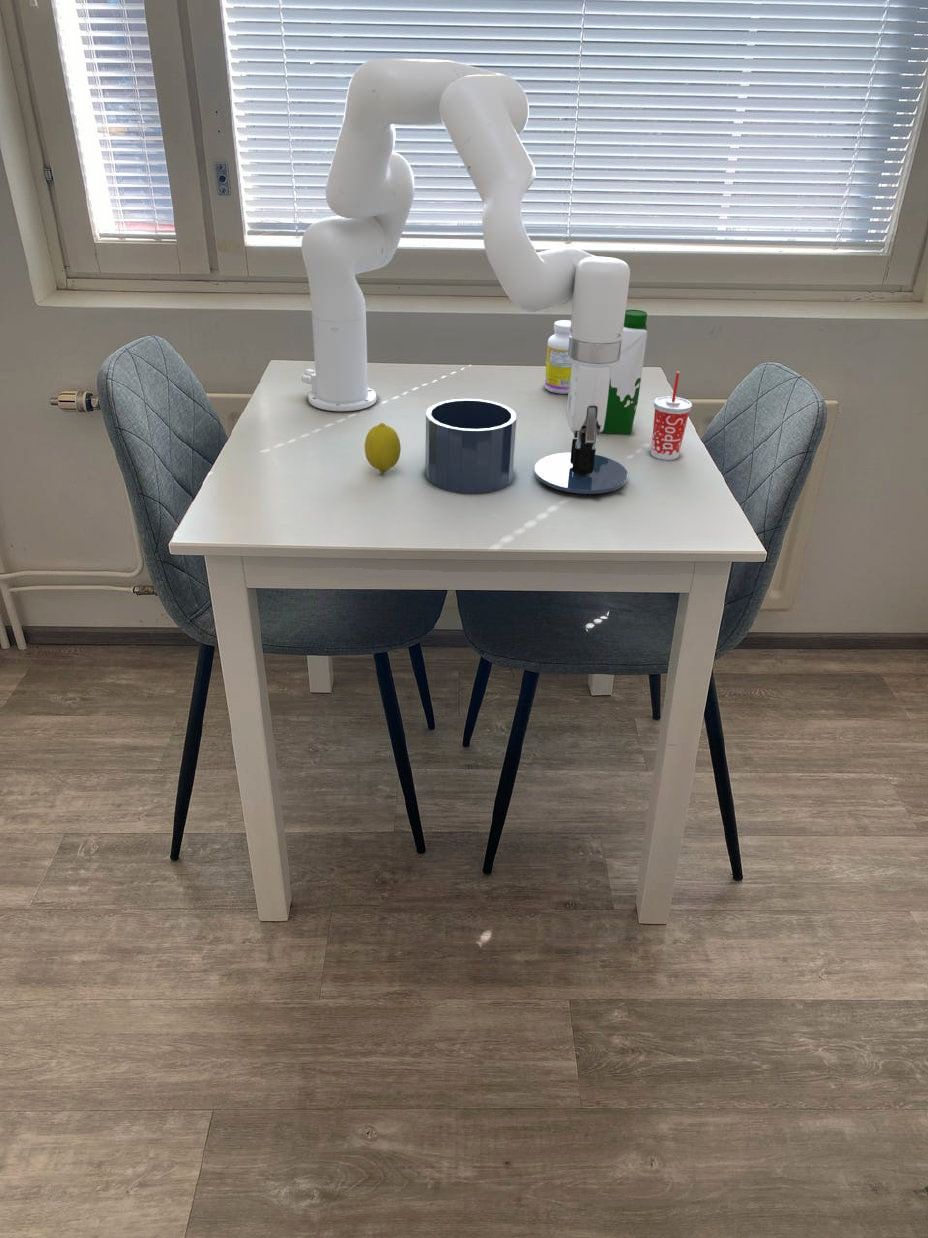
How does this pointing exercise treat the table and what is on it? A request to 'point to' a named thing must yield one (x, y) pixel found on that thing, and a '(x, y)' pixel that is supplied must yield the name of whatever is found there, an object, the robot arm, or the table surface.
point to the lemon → (382, 447)
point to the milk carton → (626, 375)
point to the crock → (470, 445)
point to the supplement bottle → (558, 359)
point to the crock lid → (580, 474)
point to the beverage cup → (669, 425)
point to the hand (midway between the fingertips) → (581, 466)
